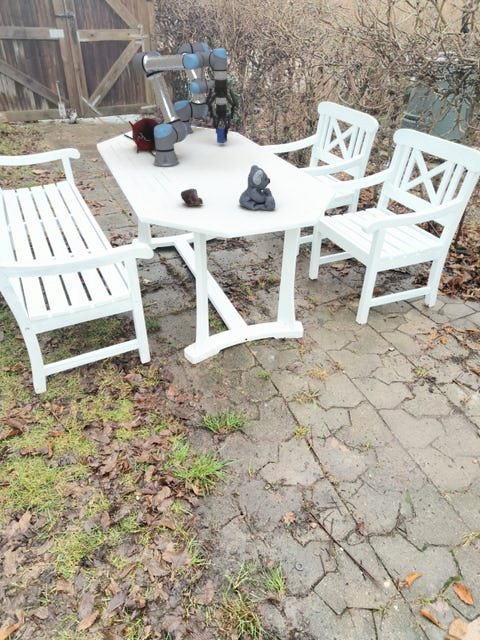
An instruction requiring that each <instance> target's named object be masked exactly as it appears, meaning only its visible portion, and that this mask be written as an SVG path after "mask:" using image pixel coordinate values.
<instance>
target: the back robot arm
mask: <svg viewBox="0 0 480 640" xmlns="http://www.w3.org/2000/svg"><path fill="white" fill-rule="evenodd" d="M197 52H210V49H209V46H208V44H207V43H206V42H201V41H200V42H185V43H183V44H182V45H181V46H180V47H179V49H178V51H177V55H181V54H196V53H197ZM183 71H185V74H186V76H187V78H188V80H189V82H190V83H189V91H190V93H191V95H192V97H191V98H190V102H189V101H188V100H185V99H183V100H179V101H176V102H174V104H173V106H174V109H175V112H176V115H177V117H179V118H180V120H181V122H183V123H184V124H185V125H186V127H187V135H190V134H192V133H193V127H192V125H191V122H190V121H191V120H190V119H194V118H195V119H197V118H204V117H206V116H207V114H208V105H205V103H206V99H205V98H204V94H209V91H210V88H215V84H214V80H215V79H214V80H210V81H209V80H208V81H205V67H204V68H198V69H194V70H189V69H184V70H183ZM212 94H215V91H214V92H213V93H212ZM227 107H228V106H227V99H226V98H225V97H218V96H217V97H216V99H215V112H213V117H212V127H213V129H215V134H217V129H218V128H219V127H220V121H221V119H222V121H223V125H224V127H225V139H227V140H228V135H229V129H231V113H230V112H228V110H227Z"/></svg>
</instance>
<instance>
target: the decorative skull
mask: <svg viewBox="0 0 480 640" xmlns="http://www.w3.org/2000/svg"><path fill="white" fill-rule="evenodd" d="M128 123H129V125H130V127H131V130H132V131H131V134H132V135H131V136H132V137H131V138H133V139H132V140H133V142H134V144H135V146H136V153H137V154H138V153H139V151H141V150H142V151H149V150H150V151H154V150H156V145H155V136H154V128H155V127H156V126H157V125H160V124H161V123H159V122H158V121H156V120H155V119H154V118H149V117H146V118H141V119H139V120H137V121H136V122H134V123H132V122H131V121H130V120H128Z"/></svg>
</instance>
